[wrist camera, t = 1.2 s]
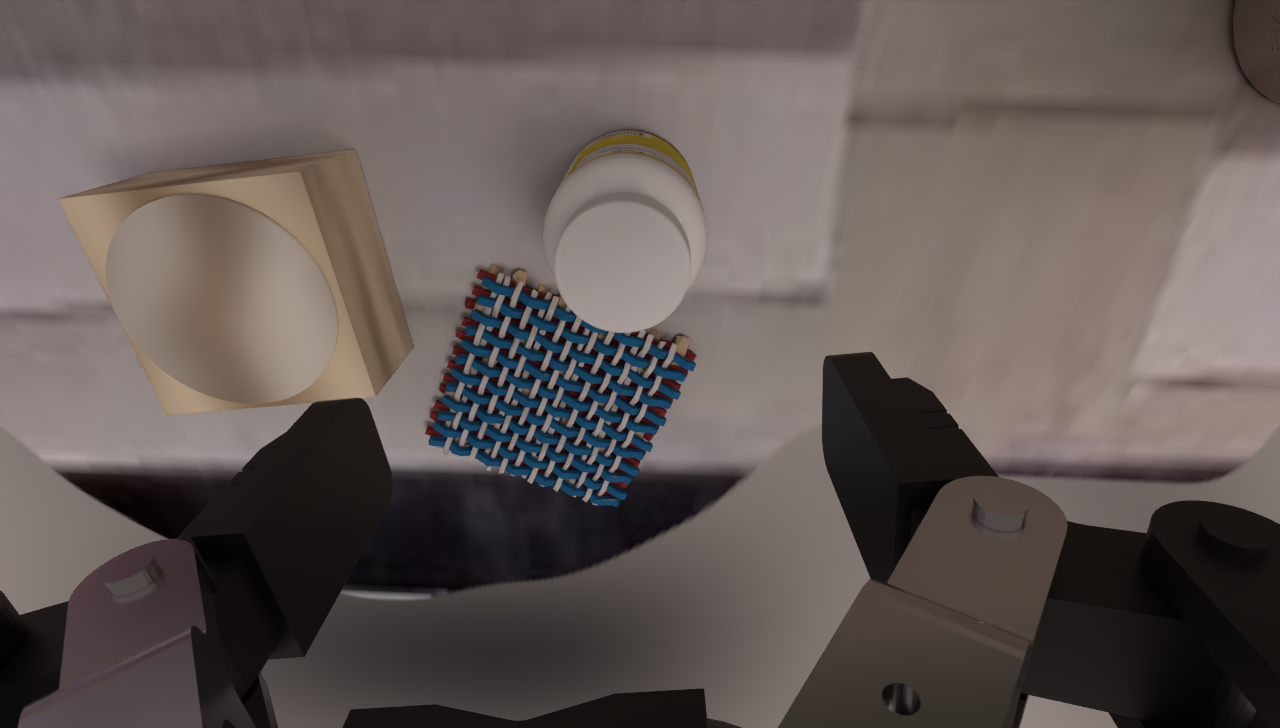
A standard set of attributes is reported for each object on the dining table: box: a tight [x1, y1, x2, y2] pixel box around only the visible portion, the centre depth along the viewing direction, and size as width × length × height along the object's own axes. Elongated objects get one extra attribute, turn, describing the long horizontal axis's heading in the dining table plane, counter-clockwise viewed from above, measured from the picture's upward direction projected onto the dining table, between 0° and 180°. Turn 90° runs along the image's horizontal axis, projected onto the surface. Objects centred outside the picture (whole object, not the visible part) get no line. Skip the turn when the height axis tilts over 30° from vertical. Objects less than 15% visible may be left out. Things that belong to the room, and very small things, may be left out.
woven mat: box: [425, 264, 696, 507], centre depth 31 cm, size 10×11×2 cm
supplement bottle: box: [543, 129, 707, 333], centre depth 23 cm, size 5×5×10 cm
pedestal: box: [58, 149, 414, 415], centre depth 27 cm, size 9×9×5 cm
